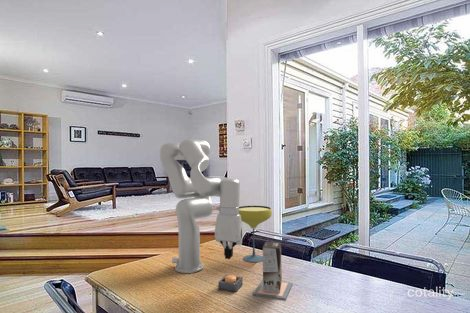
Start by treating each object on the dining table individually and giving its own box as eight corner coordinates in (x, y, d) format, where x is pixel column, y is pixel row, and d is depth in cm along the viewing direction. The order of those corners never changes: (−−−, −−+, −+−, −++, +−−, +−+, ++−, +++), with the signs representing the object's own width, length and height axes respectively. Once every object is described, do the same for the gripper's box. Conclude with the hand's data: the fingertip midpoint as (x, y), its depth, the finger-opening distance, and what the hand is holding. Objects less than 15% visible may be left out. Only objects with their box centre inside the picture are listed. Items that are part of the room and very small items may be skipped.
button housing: (218, 289, 113) (218, 281, 113) (225, 282, 120) (225, 274, 120) (236, 292, 110) (236, 284, 110) (242, 284, 117) (242, 277, 117)
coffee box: (280, 293, 107) (279, 248, 108) (262, 291, 109) (262, 247, 109) (282, 283, 116) (281, 241, 116) (265, 282, 118) (265, 240, 118)
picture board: (252, 295, 108) (252, 293, 108) (262, 280, 121) (262, 278, 121) (285, 300, 104) (285, 298, 104) (292, 284, 117) (292, 282, 117)
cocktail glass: (231, 255, 154) (230, 206, 155) (263, 251, 160) (262, 204, 160) (242, 267, 137) (241, 212, 137) (278, 262, 142) (277, 209, 143)
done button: (223, 286, 114) (223, 278, 114) (227, 281, 118) (227, 274, 118) (234, 287, 112) (233, 280, 112) (237, 283, 116) (237, 276, 116)
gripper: (207, 211, 115) (206, 258, 115) (244, 214, 110) (243, 264, 110) (215, 207, 122) (214, 252, 122) (250, 210, 117) (249, 257, 117)
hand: (228, 257), depth 116 cm, fingers closed
